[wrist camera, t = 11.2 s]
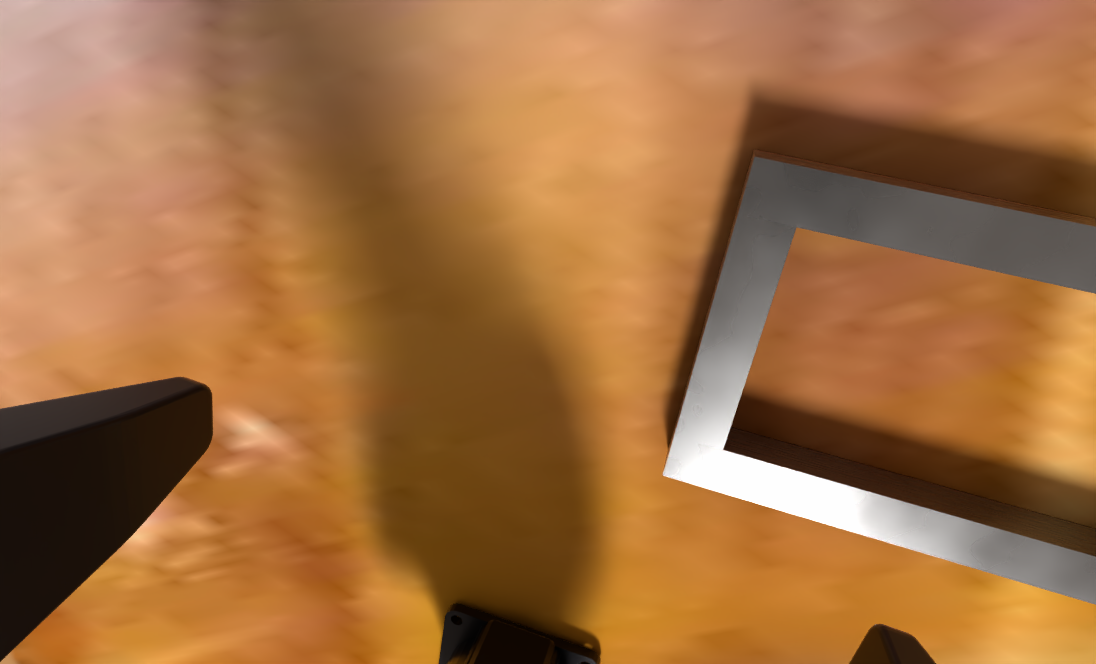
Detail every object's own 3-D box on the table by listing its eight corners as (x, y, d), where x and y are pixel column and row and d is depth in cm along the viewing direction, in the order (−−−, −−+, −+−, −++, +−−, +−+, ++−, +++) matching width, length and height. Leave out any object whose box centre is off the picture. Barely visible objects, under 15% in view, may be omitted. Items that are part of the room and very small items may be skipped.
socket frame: (1168, 595, 20) (1198, 635, 18) (667, 450, 22) (662, 475, 21) (1404, 281, 16) (1466, 303, 14) (754, 148, 18) (754, 156, 17)
